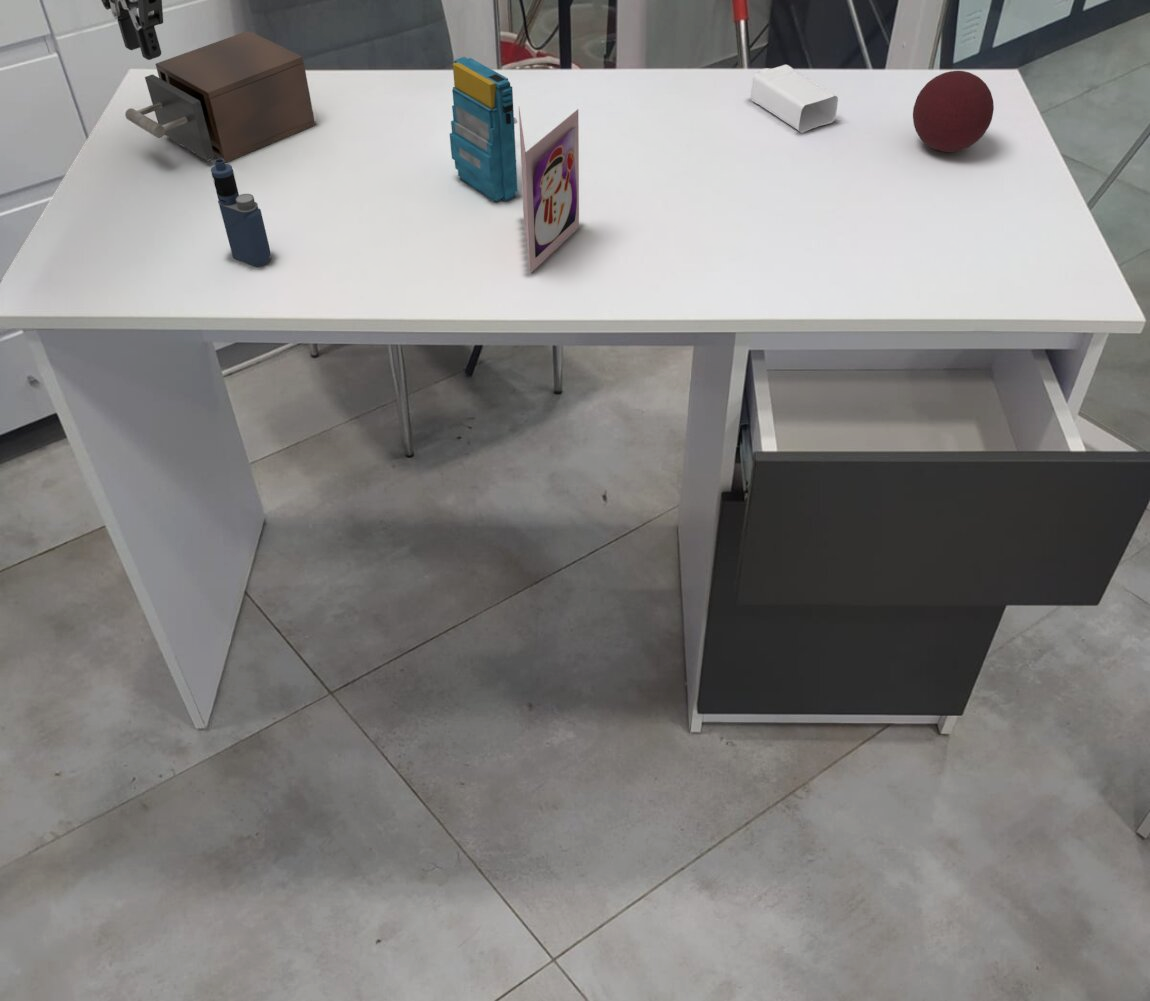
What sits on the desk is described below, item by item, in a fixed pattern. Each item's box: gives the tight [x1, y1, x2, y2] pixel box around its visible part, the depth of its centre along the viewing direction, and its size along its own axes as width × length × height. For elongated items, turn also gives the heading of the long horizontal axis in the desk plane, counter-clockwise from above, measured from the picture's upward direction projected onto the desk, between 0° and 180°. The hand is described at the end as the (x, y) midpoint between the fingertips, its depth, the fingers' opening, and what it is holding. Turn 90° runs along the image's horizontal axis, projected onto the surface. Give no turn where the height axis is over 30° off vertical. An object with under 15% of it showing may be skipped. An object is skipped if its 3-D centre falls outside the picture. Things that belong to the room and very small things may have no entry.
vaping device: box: [210, 158, 272, 267], centre depth 126 cm, size 3×5×12 cm, turn 59°
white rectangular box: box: [749, 64, 839, 134], centre depth 155 cm, size 6×13×4 cm, turn 30°
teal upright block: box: [449, 56, 518, 203], centre depth 137 cm, size 10×4×15 cm, turn 40°
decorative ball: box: [912, 70, 995, 153], centre depth 145 cm, size 10×10×10 cm
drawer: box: [124, 74, 220, 162], centre depth 148 cm, size 18×11×8 cm, turn 136°
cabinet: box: [155, 30, 316, 164], centre depth 150 cm, size 15×13×10 cm
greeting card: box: [518, 107, 580, 274], centre depth 127 cm, size 11×7×15 cm, turn 151°
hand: (144, 51), depth 138 cm, fingers open, 3 cm apart
